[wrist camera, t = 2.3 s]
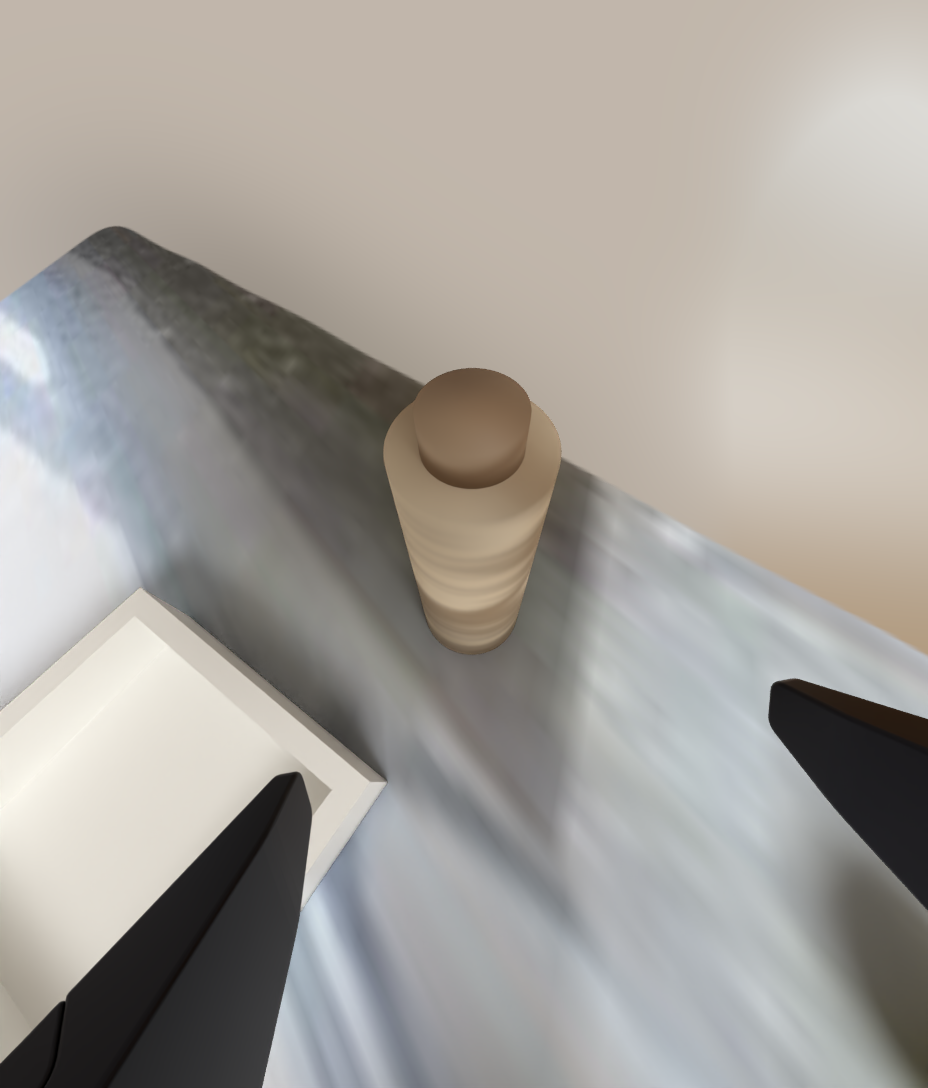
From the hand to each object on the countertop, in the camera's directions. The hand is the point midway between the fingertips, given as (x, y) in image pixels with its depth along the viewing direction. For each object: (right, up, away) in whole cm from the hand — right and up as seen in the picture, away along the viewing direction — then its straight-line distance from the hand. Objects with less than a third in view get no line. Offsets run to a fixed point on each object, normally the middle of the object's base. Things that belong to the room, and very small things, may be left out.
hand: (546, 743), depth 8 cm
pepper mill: (-1, 0, +15) cm, 16 cm away
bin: (-15, -9, +11) cm, 20 cm away
